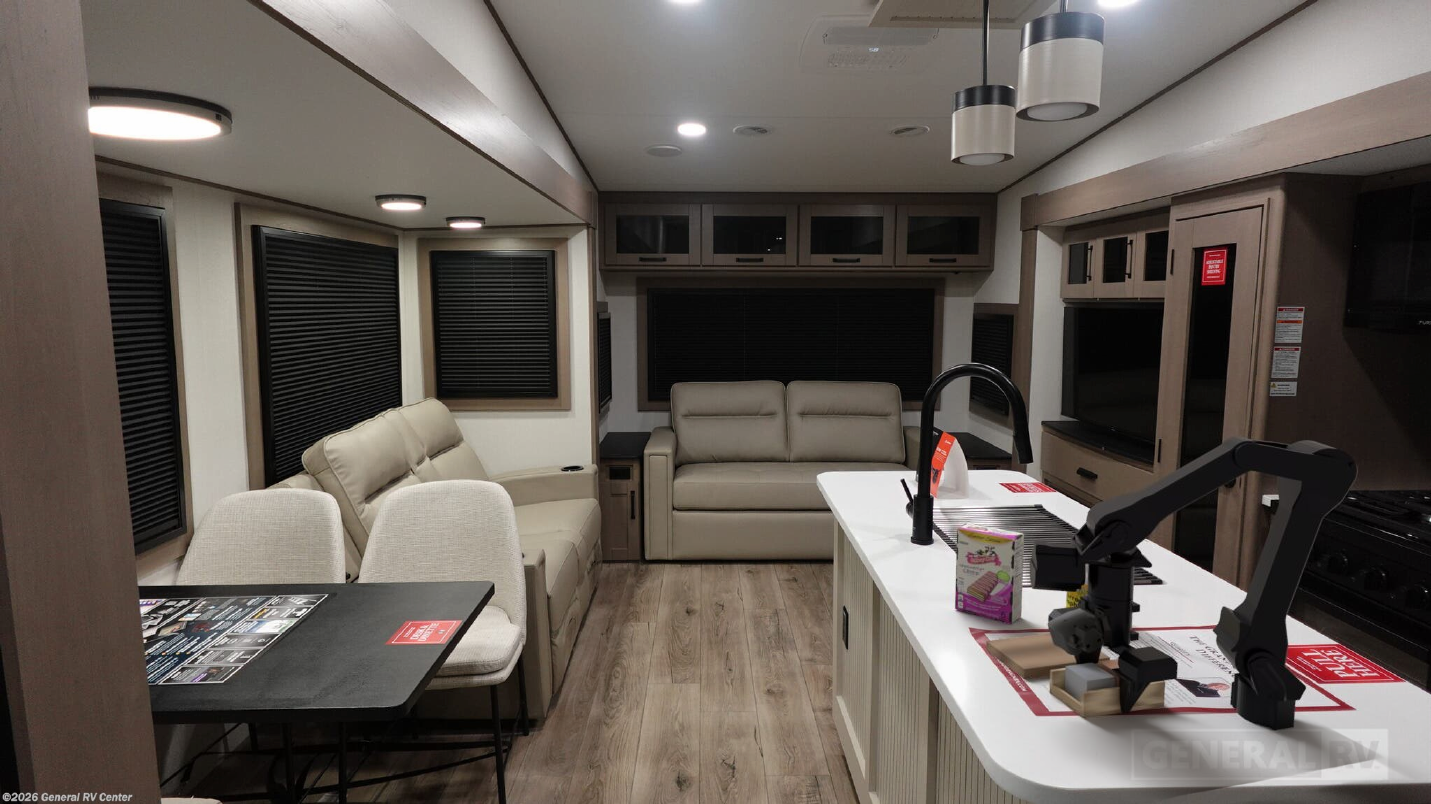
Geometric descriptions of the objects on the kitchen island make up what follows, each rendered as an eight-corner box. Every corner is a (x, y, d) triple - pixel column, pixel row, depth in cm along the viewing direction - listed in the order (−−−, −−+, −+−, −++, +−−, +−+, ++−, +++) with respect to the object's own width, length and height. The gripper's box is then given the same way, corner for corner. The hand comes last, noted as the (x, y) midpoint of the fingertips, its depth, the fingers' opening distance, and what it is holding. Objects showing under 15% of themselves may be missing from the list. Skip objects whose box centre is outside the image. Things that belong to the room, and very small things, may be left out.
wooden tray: (1125, 688, 109) (1127, 659, 109) (1163, 712, 102) (1165, 681, 102) (1049, 699, 107) (1050, 670, 106) (1082, 725, 100) (1084, 693, 99)
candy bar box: (953, 610, 140) (955, 527, 138) (965, 602, 144) (966, 521, 142) (1012, 626, 133) (1014, 538, 131) (1022, 617, 136) (1025, 532, 134)
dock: (1109, 676, 114) (1110, 657, 114) (1023, 688, 111) (1024, 669, 110) (1065, 648, 124) (1066, 631, 123) (986, 658, 120) (986, 641, 120)
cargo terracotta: (1147, 698, 103) (1149, 672, 103) (1120, 703, 102) (1122, 676, 102) (1124, 683, 107) (1125, 658, 107) (1098, 687, 107) (1099, 661, 106)
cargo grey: (1113, 704, 102) (1114, 677, 102) (1086, 708, 101) (1087, 681, 101) (1091, 688, 106) (1092, 662, 106) (1064, 692, 105) (1065, 666, 105)
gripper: (1018, 576, 110) (1015, 675, 112) (1109, 627, 92) (1104, 743, 94) (1082, 569, 112) (1079, 666, 114) (1183, 617, 94) (1177, 731, 96)
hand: (1105, 698), depth 104 cm, fingers closed on wooden tray, 7 cm apart
